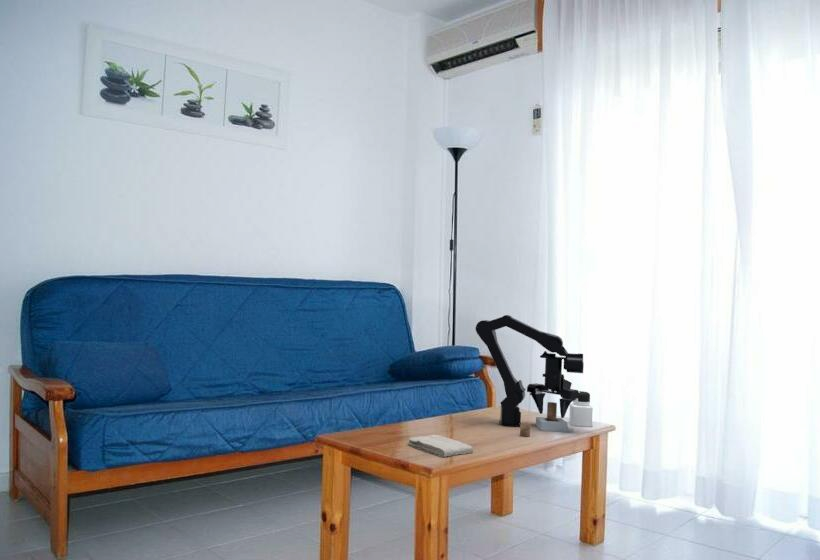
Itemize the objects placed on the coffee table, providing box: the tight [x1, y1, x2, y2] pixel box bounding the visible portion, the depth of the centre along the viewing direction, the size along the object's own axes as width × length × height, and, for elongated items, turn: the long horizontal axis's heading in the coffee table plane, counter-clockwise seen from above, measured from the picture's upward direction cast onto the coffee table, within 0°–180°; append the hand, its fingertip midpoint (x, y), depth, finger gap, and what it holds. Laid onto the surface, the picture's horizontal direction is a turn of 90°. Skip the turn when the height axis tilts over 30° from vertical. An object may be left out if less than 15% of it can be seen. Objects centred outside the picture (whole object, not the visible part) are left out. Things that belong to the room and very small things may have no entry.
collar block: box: [535, 416, 569, 433], centre depth 227 cm, size 9×9×3 cm
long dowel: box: [546, 401, 558, 421], centre depth 227 cm, size 3×3×9 cm
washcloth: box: [407, 434, 474, 458], centre depth 190 cm, size 12×18×3 cm, turn 38°
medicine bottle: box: [568, 390, 594, 428], centre depth 237 cm, size 7×7×12 cm
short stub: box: [519, 422, 531, 438], centre depth 213 cm, size 3×3×4 cm
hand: (551, 415), depth 227 cm, fingers open, 9 cm apart
